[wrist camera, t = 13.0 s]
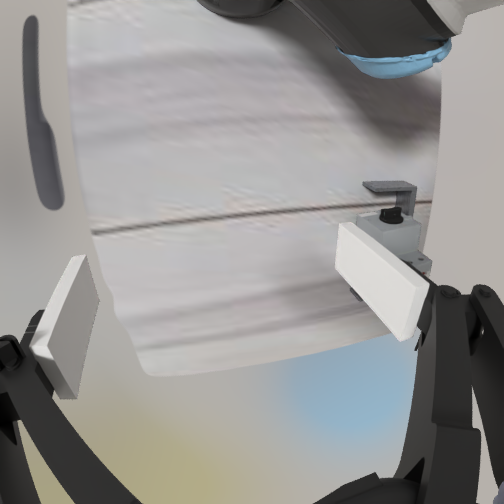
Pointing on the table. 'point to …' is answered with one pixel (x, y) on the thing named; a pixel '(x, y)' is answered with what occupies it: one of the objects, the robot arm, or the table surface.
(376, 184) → the grey u-shaped bracket
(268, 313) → the table surface
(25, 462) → the robot arm
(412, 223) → the circuit breaker
